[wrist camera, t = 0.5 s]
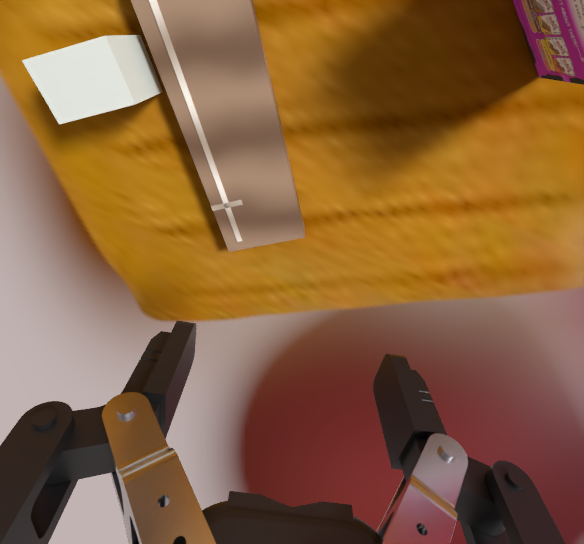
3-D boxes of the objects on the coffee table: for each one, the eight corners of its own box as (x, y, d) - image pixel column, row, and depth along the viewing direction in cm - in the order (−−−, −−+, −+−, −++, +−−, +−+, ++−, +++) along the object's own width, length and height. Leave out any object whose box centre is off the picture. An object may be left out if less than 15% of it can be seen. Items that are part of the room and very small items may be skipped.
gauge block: (70, 55, 27) (19, 61, 22) (140, 34, 26) (105, 35, 21) (97, 109, 29) (57, 124, 24) (163, 91, 28) (135, 104, 24)
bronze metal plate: (133, -19, 24) (121, -23, 23) (240, -53, 23) (236, -59, 21) (232, 242, 37) (228, 252, 35) (304, 227, 36) (305, 237, 34)
